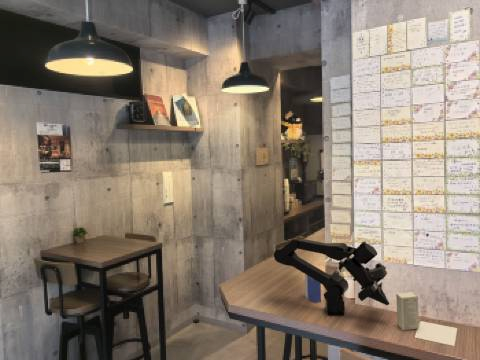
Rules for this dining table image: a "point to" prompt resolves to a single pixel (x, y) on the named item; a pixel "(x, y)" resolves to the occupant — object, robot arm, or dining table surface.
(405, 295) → the skincare box
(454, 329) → the mat
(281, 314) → the dining table surface
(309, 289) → the walkman
